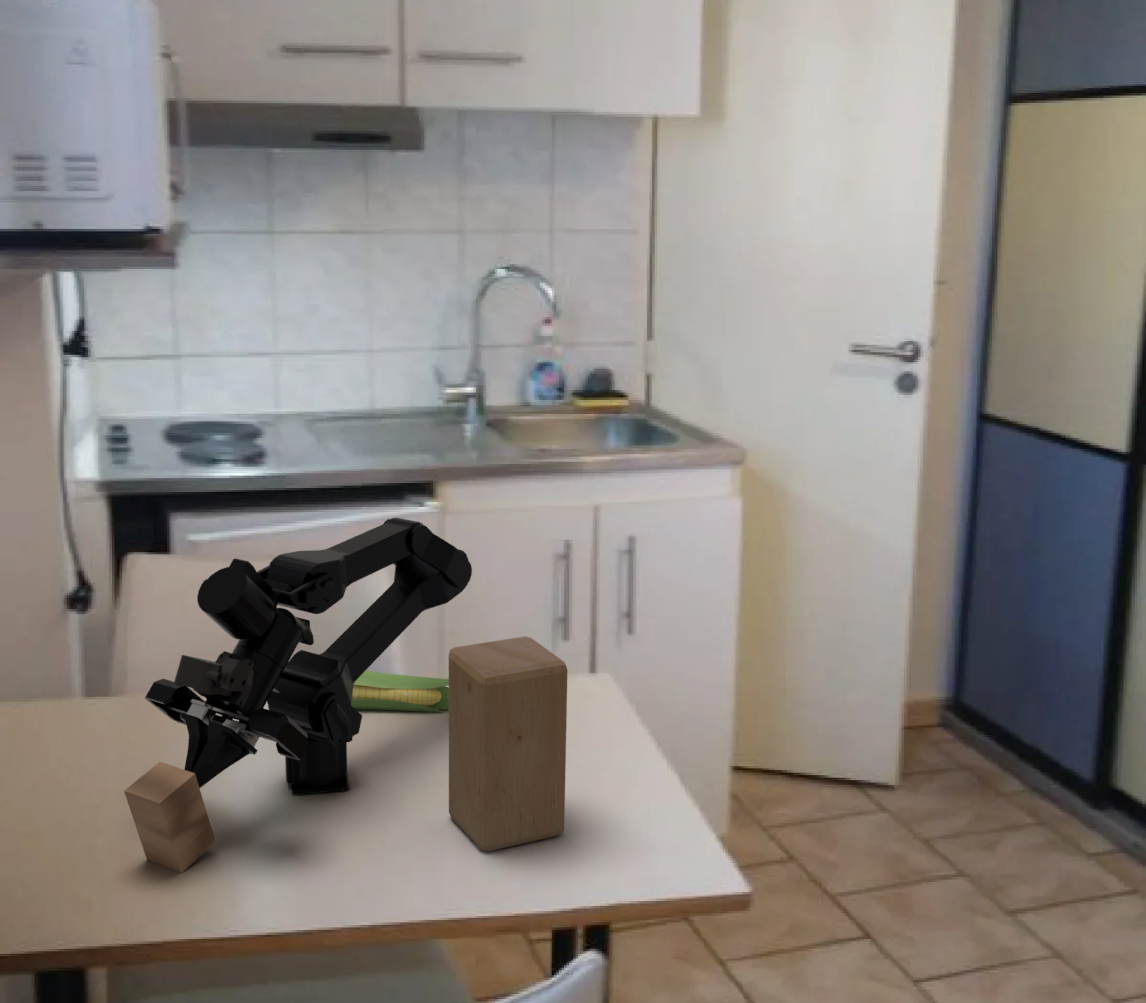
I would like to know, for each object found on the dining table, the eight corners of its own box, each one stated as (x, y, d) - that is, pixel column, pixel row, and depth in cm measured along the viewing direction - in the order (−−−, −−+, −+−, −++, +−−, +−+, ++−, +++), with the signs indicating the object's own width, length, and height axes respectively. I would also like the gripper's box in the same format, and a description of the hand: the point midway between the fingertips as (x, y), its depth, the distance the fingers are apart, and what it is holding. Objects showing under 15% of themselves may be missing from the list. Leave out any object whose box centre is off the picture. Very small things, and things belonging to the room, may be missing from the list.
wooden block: (482, 856, 154) (483, 676, 149) (445, 816, 162) (445, 645, 157) (567, 837, 158) (571, 662, 153) (527, 799, 167) (529, 632, 162)
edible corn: (321, 665, 194) (313, 668, 190) (471, 676, 193) (467, 679, 189) (318, 704, 194) (310, 708, 190) (468, 716, 193) (464, 720, 188)
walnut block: (181, 829, 155) (159, 761, 151) (215, 842, 153) (195, 773, 149) (146, 859, 152) (124, 790, 148) (181, 873, 149) (159, 803, 145)
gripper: (154, 606, 157) (76, 737, 150) (287, 641, 147) (210, 782, 141) (210, 655, 165) (139, 781, 159) (339, 691, 156) (269, 827, 149)
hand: (186, 791), depth 152 cm, fingers closed
